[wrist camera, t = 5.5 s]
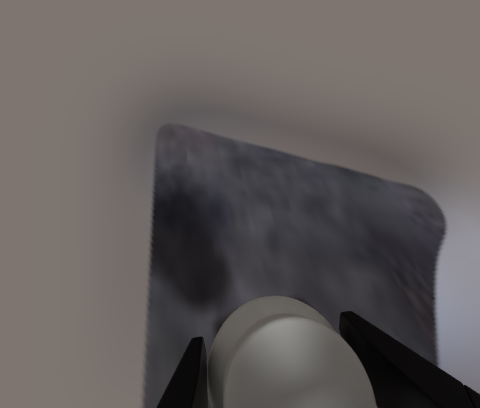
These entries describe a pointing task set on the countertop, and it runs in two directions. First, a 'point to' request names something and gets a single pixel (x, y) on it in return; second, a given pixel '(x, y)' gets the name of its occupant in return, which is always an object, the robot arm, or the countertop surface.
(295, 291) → the countertop surface
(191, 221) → the countertop surface
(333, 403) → the pill bottle
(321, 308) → the countertop surface
